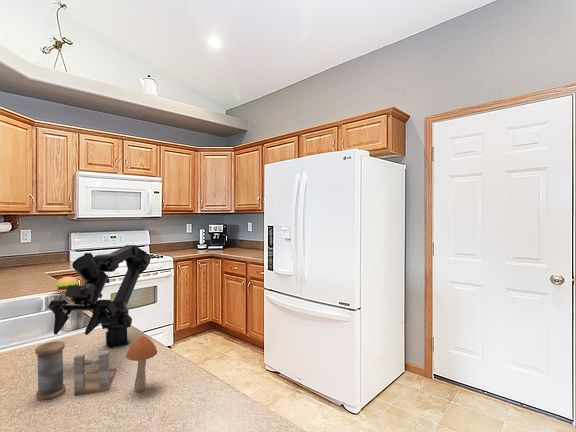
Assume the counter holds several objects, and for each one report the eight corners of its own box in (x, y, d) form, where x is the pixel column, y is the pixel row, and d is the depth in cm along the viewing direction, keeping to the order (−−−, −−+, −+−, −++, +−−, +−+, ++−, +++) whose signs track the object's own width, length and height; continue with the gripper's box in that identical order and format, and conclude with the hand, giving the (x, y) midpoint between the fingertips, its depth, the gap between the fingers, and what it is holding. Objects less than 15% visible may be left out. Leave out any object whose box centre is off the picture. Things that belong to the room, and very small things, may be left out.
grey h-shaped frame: (86, 375, 98) (85, 342, 98) (116, 371, 101) (115, 339, 100) (74, 395, 88) (73, 358, 87) (107, 390, 90) (107, 354, 90)
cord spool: (65, 384, 93) (64, 339, 93) (65, 395, 88) (64, 347, 88) (36, 392, 89) (35, 344, 89) (35, 403, 84) (34, 353, 84)
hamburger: (82, 288, 210) (82, 274, 209) (72, 292, 198) (72, 278, 197) (62, 288, 208) (62, 275, 208) (51, 293, 196) (50, 279, 196)
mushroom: (164, 384, 93) (163, 332, 93) (143, 400, 85) (142, 342, 85) (141, 380, 96) (140, 328, 95) (119, 394, 88) (118, 339, 88)
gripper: (51, 273, 101) (22, 321, 91) (111, 273, 101) (89, 321, 90) (69, 292, 109) (44, 338, 99) (124, 292, 109) (106, 338, 98)
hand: (70, 334), depth 96 cm, fingers open, 9 cm apart
